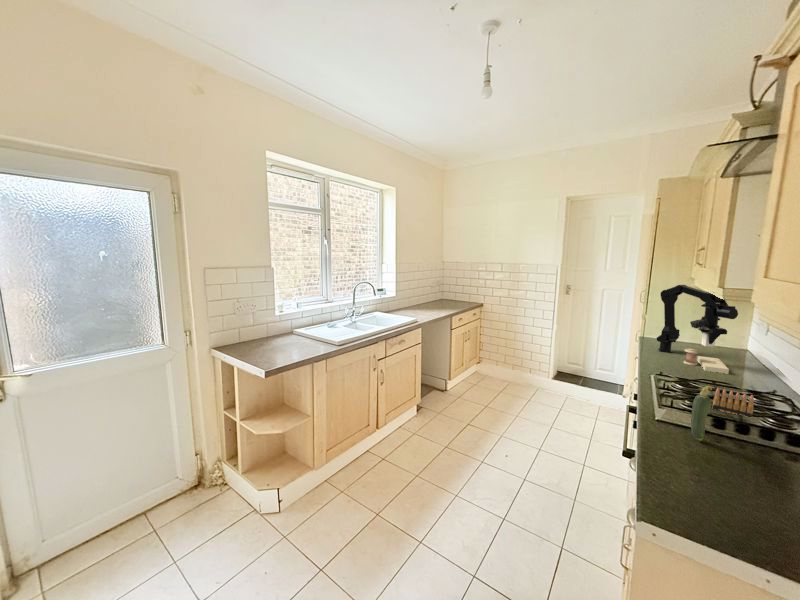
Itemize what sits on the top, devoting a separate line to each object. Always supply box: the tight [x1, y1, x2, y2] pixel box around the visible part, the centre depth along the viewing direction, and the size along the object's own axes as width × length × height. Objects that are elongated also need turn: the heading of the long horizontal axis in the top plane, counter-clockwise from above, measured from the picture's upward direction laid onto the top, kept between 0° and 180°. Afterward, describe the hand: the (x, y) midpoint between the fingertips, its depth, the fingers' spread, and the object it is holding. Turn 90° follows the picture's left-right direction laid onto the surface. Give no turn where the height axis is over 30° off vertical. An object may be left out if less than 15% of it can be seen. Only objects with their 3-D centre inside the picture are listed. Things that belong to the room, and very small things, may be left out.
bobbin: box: [682, 348, 700, 366], centre depth 181 cm, size 6×6×8 cm
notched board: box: [696, 355, 730, 375], centre depth 176 cm, size 20×9×3 cm, turn 146°
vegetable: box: [690, 385, 713, 442], centre depth 108 cm, size 4×4×20 cm
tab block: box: [701, 332, 716, 348], centre depth 179 cm, size 4×4×7 cm
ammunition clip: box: [711, 387, 755, 418], centre depth 120 cm, size 11×2×12 cm, turn 44°
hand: (708, 342), depth 179 cm, fingers closed on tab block, 4 cm apart
